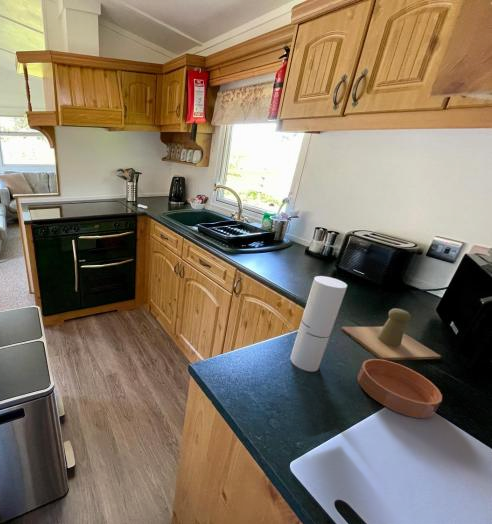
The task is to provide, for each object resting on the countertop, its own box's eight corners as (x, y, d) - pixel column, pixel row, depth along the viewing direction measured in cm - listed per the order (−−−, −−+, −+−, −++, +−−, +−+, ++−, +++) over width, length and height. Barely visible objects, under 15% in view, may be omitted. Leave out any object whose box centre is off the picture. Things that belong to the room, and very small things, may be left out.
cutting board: (391, 328, 102) (392, 326, 101) (440, 358, 87) (441, 356, 87) (340, 329, 99) (341, 326, 99) (382, 360, 84) (383, 357, 84)
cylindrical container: (303, 352, 85) (328, 275, 77) (324, 369, 79) (354, 286, 70) (284, 356, 83) (307, 277, 74) (304, 373, 77) (332, 289, 68)
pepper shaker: (372, 336, 94) (385, 307, 90) (383, 333, 96) (396, 304, 93) (393, 348, 89) (407, 317, 85) (404, 344, 91) (418, 314, 88)
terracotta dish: (391, 371, 80) (397, 358, 78) (451, 417, 66) (460, 402, 65) (343, 373, 78) (348, 359, 76) (394, 421, 64) (402, 405, 63)
